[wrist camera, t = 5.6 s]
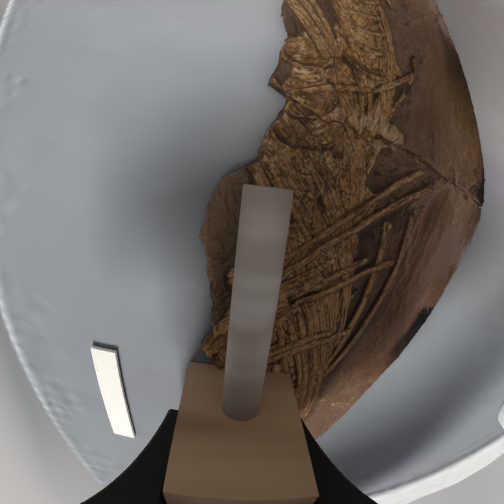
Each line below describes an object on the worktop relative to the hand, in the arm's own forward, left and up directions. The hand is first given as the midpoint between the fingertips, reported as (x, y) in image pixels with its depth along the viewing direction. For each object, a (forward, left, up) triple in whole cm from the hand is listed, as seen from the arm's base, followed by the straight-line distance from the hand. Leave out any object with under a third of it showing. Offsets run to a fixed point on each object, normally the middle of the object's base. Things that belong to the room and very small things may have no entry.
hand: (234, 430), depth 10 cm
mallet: (+3, 0, -1) cm, 4 cm away
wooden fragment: (+9, -4, -2) cm, 10 cm away
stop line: (-1, +6, -1) cm, 6 cm away
